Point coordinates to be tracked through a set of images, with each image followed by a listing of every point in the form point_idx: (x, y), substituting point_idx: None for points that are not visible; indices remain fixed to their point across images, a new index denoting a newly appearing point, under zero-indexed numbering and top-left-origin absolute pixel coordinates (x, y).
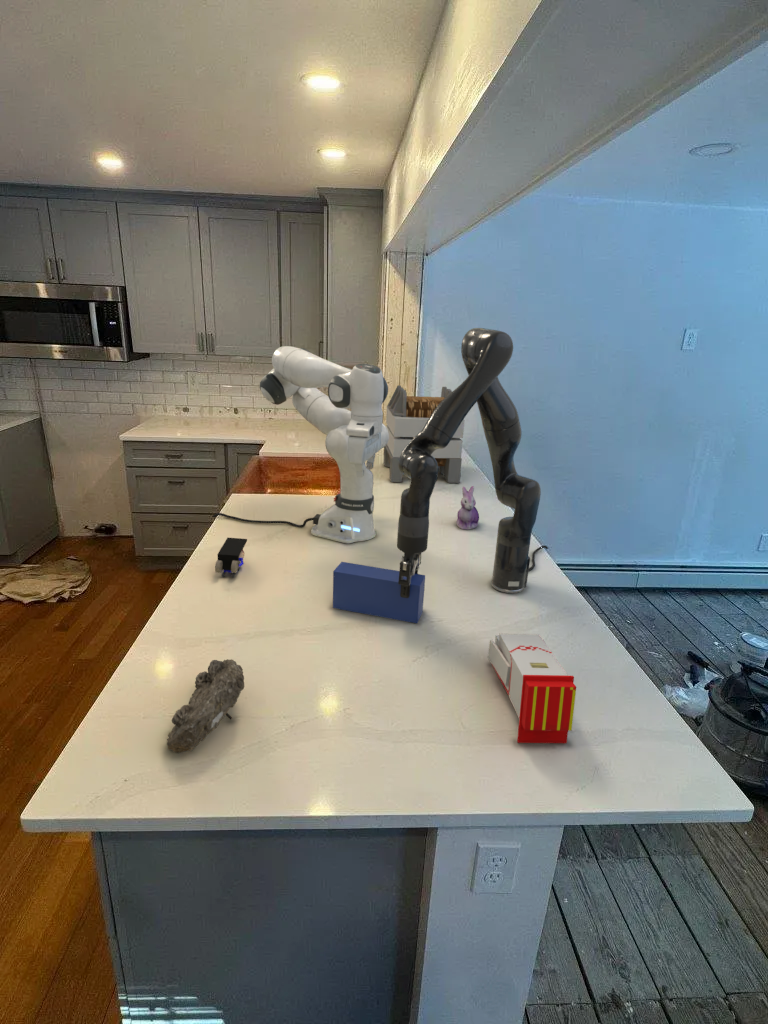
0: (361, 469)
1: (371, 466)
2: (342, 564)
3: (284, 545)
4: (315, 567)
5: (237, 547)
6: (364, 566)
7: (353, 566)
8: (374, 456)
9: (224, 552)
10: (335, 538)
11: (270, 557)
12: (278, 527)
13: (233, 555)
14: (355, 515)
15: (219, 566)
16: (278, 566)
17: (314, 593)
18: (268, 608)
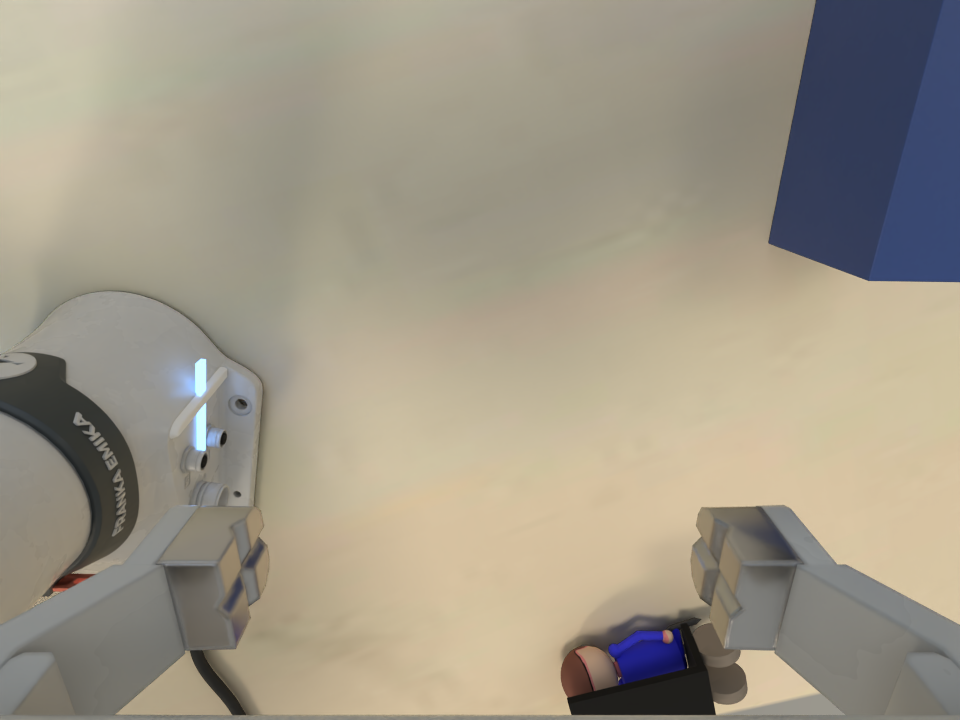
0: (900, 609)
1: (233, 535)
2: (905, 265)
3: (391, 582)
4: (537, 420)
5: (647, 699)
6: (922, 140)
7: (927, 200)
8: (10, 653)
9: (698, 713)
10: (254, 442)
11: (509, 583)
12: (244, 657)
13: (709, 682)
14: (144, 421)
15: (743, 680)
16: (571, 534)
17: (753, 348)
18: (884, 446)
